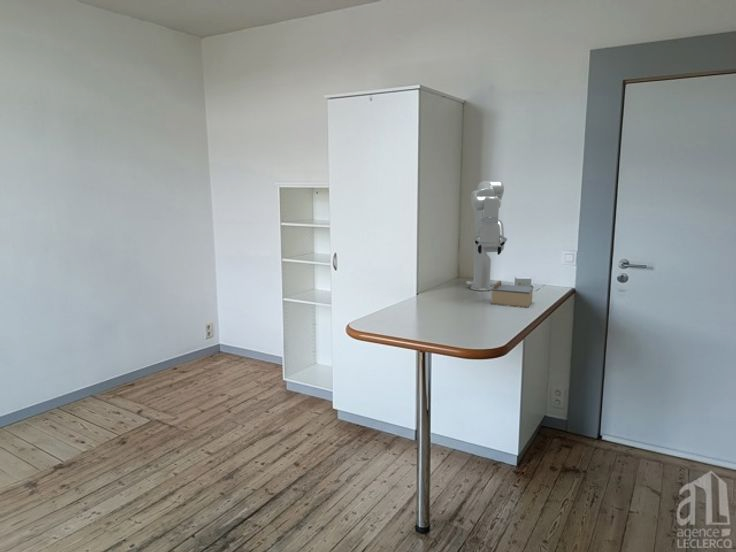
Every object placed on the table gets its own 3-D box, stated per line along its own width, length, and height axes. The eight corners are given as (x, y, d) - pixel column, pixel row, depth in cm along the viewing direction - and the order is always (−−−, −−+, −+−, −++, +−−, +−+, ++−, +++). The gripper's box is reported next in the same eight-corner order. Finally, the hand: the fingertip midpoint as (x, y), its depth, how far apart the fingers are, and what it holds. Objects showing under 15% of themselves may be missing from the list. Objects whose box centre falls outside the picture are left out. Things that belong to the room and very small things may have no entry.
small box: (528, 295, 281) (529, 276, 279) (530, 297, 275) (531, 278, 273) (513, 295, 281) (514, 276, 280) (515, 297, 276) (516, 278, 274)
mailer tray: (491, 304, 259) (491, 290, 258) (497, 298, 271) (497, 286, 270) (527, 307, 251) (528, 293, 250) (531, 302, 264) (532, 288, 262)
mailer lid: (491, 290, 258) (491, 284, 257) (497, 285, 271) (497, 280, 270) (529, 293, 250) (529, 287, 249) (533, 288, 263) (533, 282, 262)
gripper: (472, 220, 260) (471, 253, 263) (506, 221, 253) (504, 255, 256) (475, 220, 267) (474, 252, 270) (509, 221, 260) (507, 254, 263)
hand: (489, 253), depth 263 cm, fingers open, 9 cm apart
